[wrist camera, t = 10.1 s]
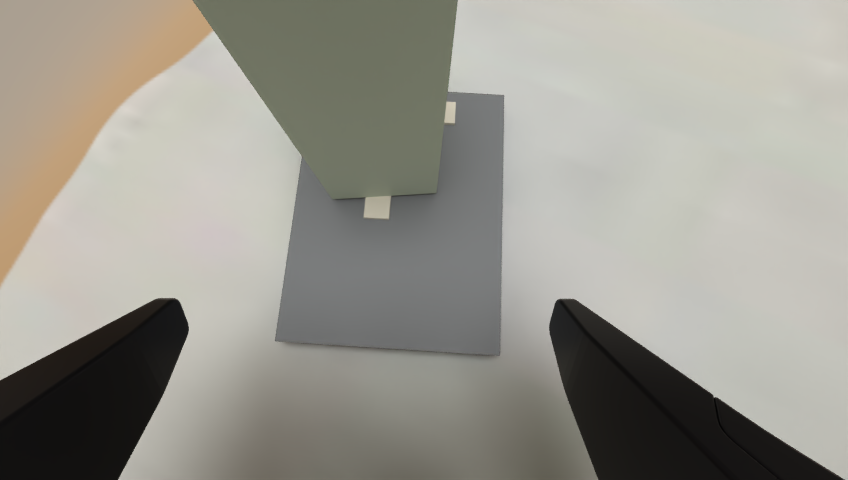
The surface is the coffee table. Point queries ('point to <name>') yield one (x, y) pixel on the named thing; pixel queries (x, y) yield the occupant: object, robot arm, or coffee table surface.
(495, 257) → the board
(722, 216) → the coffee table surface
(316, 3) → the sage block
